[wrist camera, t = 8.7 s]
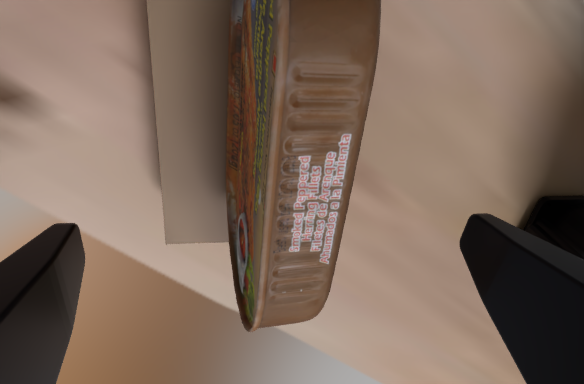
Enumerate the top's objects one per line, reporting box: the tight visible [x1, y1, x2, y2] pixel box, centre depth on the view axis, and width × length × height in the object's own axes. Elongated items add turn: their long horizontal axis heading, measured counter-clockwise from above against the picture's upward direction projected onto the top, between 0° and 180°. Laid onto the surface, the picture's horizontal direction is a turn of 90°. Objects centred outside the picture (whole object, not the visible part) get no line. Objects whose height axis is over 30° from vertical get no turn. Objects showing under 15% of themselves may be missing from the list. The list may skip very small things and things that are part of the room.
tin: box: [226, 0, 381, 332], centre depth 15 cm, size 15×3×8 cm, turn 174°
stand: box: [146, 0, 230, 244], centre depth 19 cm, size 8×17×3 cm, turn 174°
